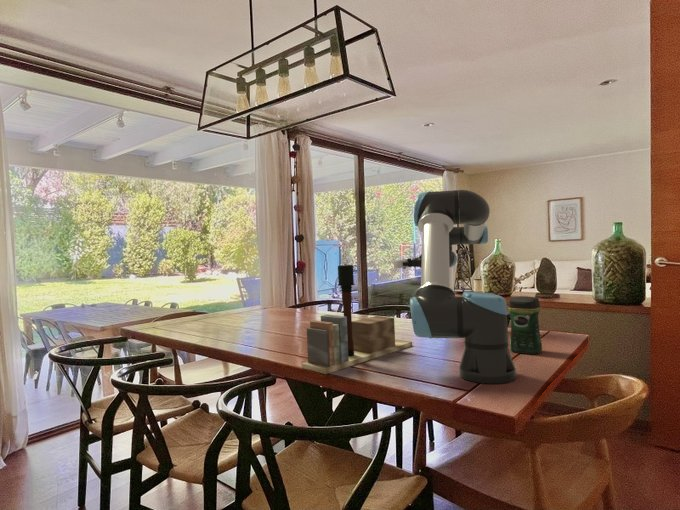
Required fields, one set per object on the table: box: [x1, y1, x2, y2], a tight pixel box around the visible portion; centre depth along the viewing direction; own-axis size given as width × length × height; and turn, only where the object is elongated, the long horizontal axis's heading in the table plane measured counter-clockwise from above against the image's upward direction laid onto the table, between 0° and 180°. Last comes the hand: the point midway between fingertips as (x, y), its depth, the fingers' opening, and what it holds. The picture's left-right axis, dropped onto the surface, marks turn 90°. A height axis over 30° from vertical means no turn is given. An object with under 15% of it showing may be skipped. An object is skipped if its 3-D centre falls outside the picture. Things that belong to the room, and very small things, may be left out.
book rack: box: [301, 314, 413, 375], centre depth 152 cm, size 44×11×16 cm, turn 135°
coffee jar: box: [508, 295, 543, 355], centre depth 148 cm, size 10×8×19 cm
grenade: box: [337, 264, 355, 356], centre depth 147 cm, size 6×6×30 cm
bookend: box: [352, 315, 396, 354], centre depth 156 cm, size 14×8×10 cm, turn 135°
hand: (395, 264), depth 166 cm, fingers closed
